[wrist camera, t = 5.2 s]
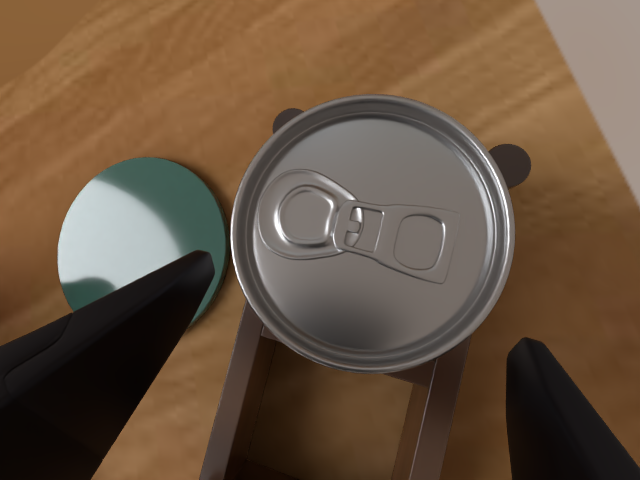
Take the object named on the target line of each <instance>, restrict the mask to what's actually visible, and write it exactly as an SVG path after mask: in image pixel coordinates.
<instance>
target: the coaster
mask: <svg viewBox="0 0 640 480" xmlns="http://www.w3.org/2000/svg"><path fill="white" fill-rule="evenodd" d="M195 250H203V251H206V252H209V253H210V254H211V256H212V260H213V264H214V268H215V275H214V278H213V280H212V282H211V284H210V286H209V288H208V290H207V292H206V294H205V296H204V298H203V300H202V302H201V304H200V306H199V308H198V310H197V312H196V314H195V316H194V318H193V319H192V321H191V323H190V324H189V326H188V328H189V327H190V326H192V325H193V324H194V323H195V322H196V321H198V320H199V319H200V318H201V317H202V315H203V314H204V313H205V312H206V311H207V310H208V308H209V307H210V306H211V304H212V303H213V301H214V300H215V298H216V296H217V294H218V292H219V290H220V288H221V286H222V283H223V281H224V278H225V275H226V271H227V267H228V261H229V253H230V238H229V230H228V225H227V221H226V217H225V214H224V211H223V209H222V206H221V204H220V202H219V200H218V199H217V197H216V195H215V193H214V192H213V191H212V190H211V188H210V187H209V186H208V184H206V183H205V182H204V181H203V180H202V179H201V178H200V177H199V176H198V175H196V174H195V173H194V172H192V171H191V170H189V169H187V168H185V167H183V166H181V165H179V164H178V163H175V162H172V161H169V160H166V159H160V158H151V157H143V158H134V159H130V160H126V161H122V162H120V163H117V164H115V165H113V166H111V167H109V168H107V169H105V170H104V171H102V172H101V173H99V174H98V175H97V176H95V177H94V178H93V179H92V180H91V181H90V182H89V183H88V184H87V185H86V186H85V187H84V188H83V189H82V190H81V192H80V193H79V194H78V196H77V197H76V198H75V200H74V201H73V203H72V205H71V207H70V209H69V211H68V212H67V215H66V217H65V220H64V222H63V225H62V229H61V233H60V237H59V243H58V255H57V261H58V273H59V278H60V283H61V286H62V289H63V293H64V295H65V297H66V299H67V302H68V304H69V305H70V307H71V308H72V310H73V312H74V311H76V310H78V309H80V308H82V307H84V306H86V305H88V304H90V303H92V302H94V301H96V300H98V299H99V298H101V297H103V296H105V295H107V294H109V293H111V292H113V291H115V290H117V289H119V288H121V287H123V286H125V285H127V284H129V283H131V282H133V281H135V280H137V279H139V278H141V277H143V276H145V275H147V274H149V273H151V272H153V271H155V270H157V269H159V268H161V267H163V266H165V265H167V264H169V263H171V262H173V261H175V260H177V259H179V258H181V257H183V256H185V255H187V254H189V253H191V252H193V251H195ZM188 328H187V329H188Z"/></svg>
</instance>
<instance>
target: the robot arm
mask: <svg viewBox="0 0 640 480" xmlns="http://www.w3.org/2000/svg"><path fill="white" fill-rule="evenodd" d="M214 275H215V268H214V264H213V260H212V256H211V254H210V253H209V252H206V251H203V250H195V251H193V252H191V253H189V254H187V255H185V256H183V257H181V258H179V259H177V260H175V261H173V262H171V263H169V264H167V265H165V266H163V267H161V268H159V269H157V270H155V271H153V272H151V273H149V274H147V275H145V276H143V277H141V278H139V279H137V280H135V281H133V282H131V283H129V284H127V285H125V286H123V287H121V288H119V289H117V290H115V291H113V292H111V293H109V294H107V295H105V296H103V297H101V298H99V299H98V300H96V301H94V302H92V303H90V304H88V305H86V306H84V307H82V308H80V309H78V310H76V311H74V312H73V313H70V314H68V315H66V316H64V317H62V318H60V319H58V320H56V321H54V322H52V323H50V324H47V325H45V326H43V327H41V328H39V329H37V330H35V331H33V332H31V333H29V334H26V335H24V336H22V337H20V338H18V339H15V340H13V341H11V342H9V343H6V344H4V345H2V346H0V480H91V478H92V477H93V475H94V473H95V472H96V470H97V469H98V467H99V466H100V464H101V462H102V461H103V459H104V457H105V456H106V454H107V453H108V451H109V450H110V448H111V446H112V445H113V443H114V442H115V440H116V439H117V437H118V435H119V434H120V432H121V431H122V429H123V428H124V426H125V425H126V423H127V421H128V420H129V418H130V417H131V415H132V414H133V412H134V410H135V409H136V407H137V406H138V404H139V403H140V401H141V400H142V398H143V396H144V395H145V393H146V392H147V390H148V389H149V387H150V385H151V384H152V382H153V381H154V379H155V378H156V376H157V374H158V373H159V371H160V370H161V368H162V367H163V365H164V364H165V362H166V360H167V359H168V357H169V356H170V354H171V353H172V351H173V349H174V348H175V346H176V345H177V343H178V342H179V340H180V339H181V337H182V335H183V334H184V332H185V331H186V329H187V328H188V326H189V324H190V323H191V321H192V319H193V318H194V316H195V314H196V312H197V310H198V308H199V306H200V304H201V302H202V300H203V298H204V296H205V294H206V292H207V290H208V288H209V286H210V284H211V282H212V280H213V278H214ZM506 423H507V434H508V443H509V453H510V462H511V472H512V480H640V468H639V467H638V465H637V464H636V463H635V461H634V460H633V459H632V458H631V456H630V455H629V454H628V452H627V451H626V450H625V448H624V447H623V446H622V444H621V443H620V442H619V441H618V439H617V438H616V437H615V435H614V434H613V433H612V431H611V430H610V429H609V428H608V426H607V425H606V424H605V422H604V421H603V420H602V418H601V417H600V416H599V414H598V413H597V412H596V411H595V409H594V408H593V407H592V405H591V404H590V403H589V401H588V400H587V399H586V398H585V396H584V395H583V394H582V392H581V391H580V390H579V388H578V387H577V386H576V385H575V383H574V382H573V381H572V379H571V378H570V377H569V375H568V374H567V373H566V371H565V370H564V369H563V368H562V366H561V365H560V364H559V362H558V361H557V360H556V358H555V357H554V356H553V355H552V353H551V352H550V351H549V349H548V348H547V347H546V345H545V344H544V343H542V342H541V341H538V340H535V339H531V338H527V337H525V338H522V339H521V340H520V341H519V342H518V343H517V344H516V345H515V346H514V348H513V349H512V350H511V351H510V352H509V354H508V356H507V371H506Z"/></svg>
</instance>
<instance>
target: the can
mask: <svg viewBox="0 0 640 480" xmlns="http://www.w3.org/2000/svg"><path fill="white" fill-rule="evenodd" d="M230 242H231V253H232V259H233V264H234V269H235V272H236V276H237V279H238V282H239V284H240V287H241V289H242V291H243V294H244V296H245V298H246V300H247V301H248V303H249V305H250V306H251V308H252V310H253V311H254V313H255V314H256V315H257V317H258V318H259V319H260V321H261V322H262V323H263V324H264V326H265V327H266V328H267V329H268V330H269V331H270V332H271V333H272V334H273V335H274V336H275V337H276V338H277V339H279V340H280V341H281V342H282V343H284V344H285V345H286V346H287V347H289V348H290V349H292V350H293V351H295V352H296V353H298V354H300V355H301V356H303V357H305V358H307V359H309V360H311V361H313V362H316V363H318V364H321V365H324V366H326V367H330V368H333V369H337V370H341V371H346V372H352V373H362V374H381V373H392V372H398V371H403V370H407V369H411V368H414V367H417V366H420V365H423V364H426V363H428V362H430V361H433V360H435V359H437V358H439V357H441V356H442V355H444V354H446V353H448V352H449V351H451V350H452V349H454V348H455V347H457V346H458V345H459V344H461V343H462V342H463V341H464V340H466V339H467V338H468V337H469V336H470V335H471V334H472V333H473V332H474V331H475V330H476V329H477V328H478V327H479V326H480V325H481V324H482V322H483V321H484V320H485V319H486V317H487V316H488V315H489V313H490V312H491V310H492V309H493V307H494V306H495V304H496V302H497V301H498V299H499V297H500V295H501V293H502V291H503V288H504V286H505V284H506V281H507V278H508V275H509V272H510V268H511V264H512V260H513V254H514V245H515V221H514V213H513V207H512V202H511V198H510V195H509V191H508V188H507V186H506V183H505V180H504V178H503V176H502V174H501V172H500V170H499V168H498V166H497V164H496V163H495V161H494V159H493V158H492V156H491V155H490V153H489V152H488V151H487V149H486V148H485V147H484V146H483V144H482V143H481V142H480V141H479V140H478V139H477V138H476V137H475V136H474V135H473V134H472V133H471V132H470V131H469V130H468V129H467V128H466V127H464V126H463V125H462V124H461V123H459V122H458V121H457V120H455V119H454V118H452V117H451V116H449V115H447V114H446V113H444V112H442V111H440V110H438V109H436V108H434V107H432V106H430V105H427V104H425V103H422V102H419V101H416V100H413V99H409V98H405V97H400V96H394V95H384V94H363V95H353V96H347V97H342V98H338V99H334V100H331V101H328V102H325V103H322V104H320V105H317V106H315V107H313V108H310V109H308V110H307V111H305V112H303V113H301V114H299V115H298V116H296V117H295V118H293V119H292V120H290V121H289V122H287V123H286V124H285V125H283V126H282V127H281V128H280V129H279V130H277V131H276V132H275V133H274V134H273V135H272V136H271V137H270V138H269V139H268V140H267V141H266V143H265V144H264V145H263V146H262V147H261V148H260V150H259V151H258V152H257V154H256V155H255V157H254V158H253V160H252V161H251V163H250V164H249V166H248V168H247V170H246V172H245V174H244V176H243V178H242V180H241V183H240V185H239V188H238V191H237V194H236V197H235V201H234V205H233V210H232V217H231V228H230Z"/></svg>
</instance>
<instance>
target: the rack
mask: <svg viewBox="0 0 640 480" xmlns="http://www.w3.org/2000/svg"><path fill="white" fill-rule="evenodd" d="M303 112H304V111H302V110H300V109H295V108H291V109H287V110H284V111H283V112H281V113H280V114H279V115H278V116H277V117H276V119H275V121H274V123H273V134H274V133H275V132H276V131H277V130H279V129H280V128H281V127H282V126H283V125H285V124H286V123H287V122H289V121H290V120H292V119H293V118H295V117H296V116H298V115H299V114H301V113H303ZM488 152H489V153H490V155H491V156H492V158H493V159H494V161H495V163H496V164H497V166H498V168H499V170H500V172H501V174H502V176H503V178H504V180H505V183H506V186H507V188H508V190H510V189H512V188H514V187H515V186H517V185H519V184H521V183H522V182H523V181H524V180H525V179H526V178H527V177H528V175H529V173H530V170H531V161H530V158H529V156H528V154H527V153H526V152H525V151H524V150H523V149H522V148H520V147H518V146H516V145H512V144H501V145H498V146H495V147H494V148H492V149H491V150H489V151H488ZM471 335H472V334H471ZM471 335H470V336H469V337H468V338H467V339H466V340H464V341H463V342H462V343H461V344H459V345H458V346H457V347H455V348H454V349H452V350H451V351H449V352H448V353H446V354H444V355H442V356H441V357H439V358H437V359H435V360H433V361H430V362H428V363H426V364H423V365H420V366H417V367H414V368H411V369H407V370H403V371H398V372H392V373H382V374H385V375H388V376H391V377H395V378H398V379H401V380H404V381H408V382H411V383H414V384H413V388H412V393H411V397H410V401H409V405H408V410H407V414H406V418H405V423H404V427H403V431H402V436H401V440H400V444H399V449H398V453H397V457H396V462H395V466H394V470H393V475H392V479H391V480H439V478H440V473H441V469H442V465H443V460H444V456H445V451H446V447H447V442H448V438H449V433H450V429H451V424H452V420H453V415H454V411H455V406H456V402H457V397H458V393H459V388H460V384H461V380H462V375H463V371H464V366H465V362H466V357H467V353H468V348H469V344H470V339H471ZM276 341H279V342H281V341H280V340H279V339H277V338H276V337H275V336H274V335H273V334H272V333H271V332H270V331H269V330H268V329H267V328H266V327H265V326H264V324H263V323H262V322H261V321H260V319H259V318H258V317H257V315H256V314H255V313H254V311H253V310H252V308H251V306H250V305H249V303H248V301H247V300H246V302H245V306H244V309H243V313H242V317H241V321H240V325H239V329H238V332H237V336H236V340H235V344H234V348H233V351H232V355H231V359H230V363H229V367H228V371H227V374H226V378H225V382H224V386H223V390H222V394H221V397H220V401H219V405H218V409H217V413H216V417H215V420H214V424H213V428H212V432H211V436H210V439H209V443H208V447H207V451H206V455H205V459H204V462H203V466H202V470H201V474H200V478H199V480H298V479H295V478H293V477H290V476H288V475H285V474H283V473H280V472H278V471H275V470H272V469H270V468H267V467H265V466H262V465H260V464H257V463H255V462H252V461H249V460H247V454H248V450H249V446H250V443H251V439H252V435H253V431H254V427H255V423H256V419H257V415H258V411H259V407H260V403H261V399H262V395H263V391H264V388H265V384H266V380H267V376H268V372H269V368H270V364H271V360H272V356H273V352H274V348H275V344H276Z"/></svg>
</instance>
